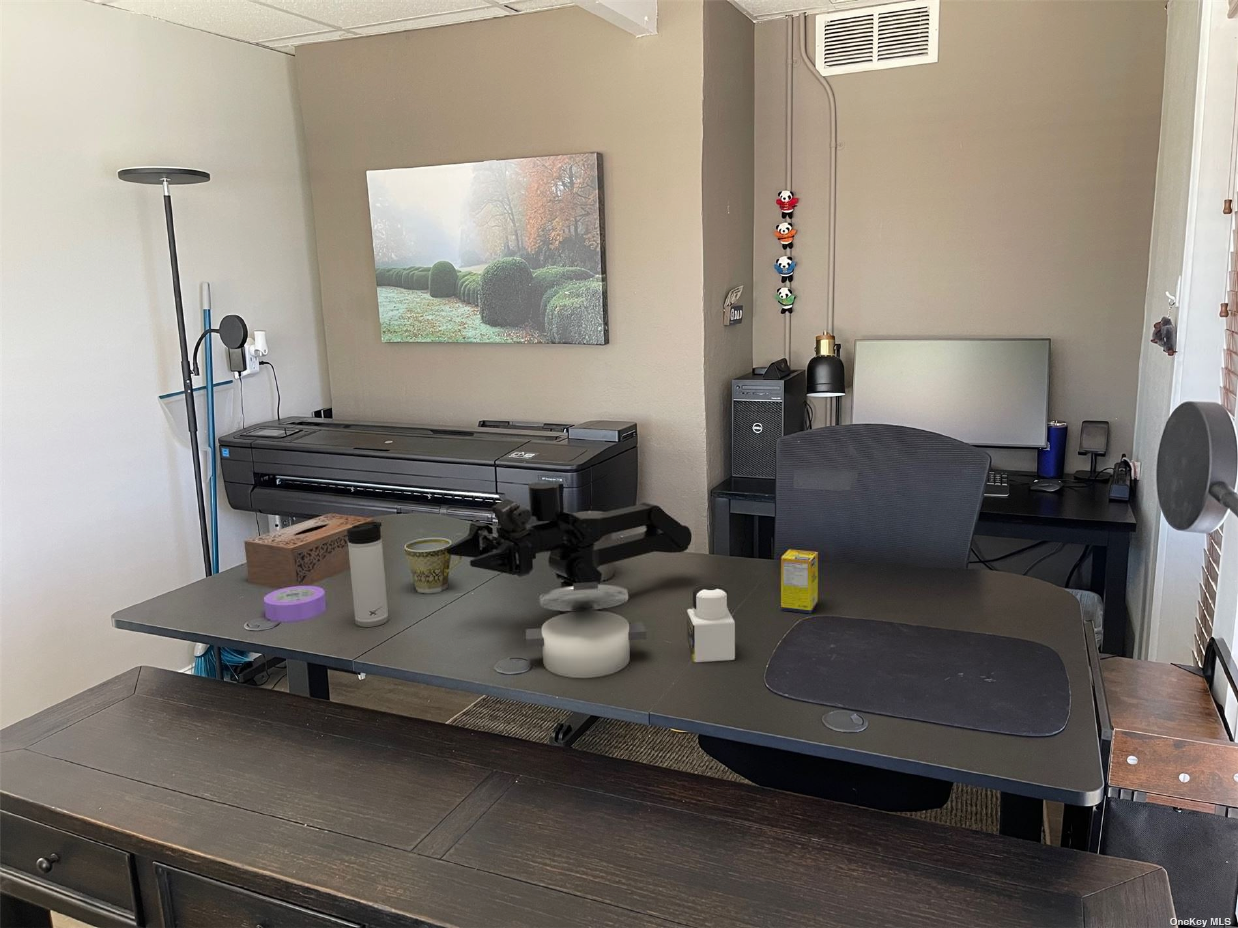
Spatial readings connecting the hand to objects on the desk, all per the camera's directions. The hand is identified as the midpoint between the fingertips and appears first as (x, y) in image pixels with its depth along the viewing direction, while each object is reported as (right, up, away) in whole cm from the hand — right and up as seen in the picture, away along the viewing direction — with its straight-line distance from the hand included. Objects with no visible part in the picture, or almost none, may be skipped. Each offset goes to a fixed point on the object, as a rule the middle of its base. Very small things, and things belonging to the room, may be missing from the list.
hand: (458, 557), depth 159 cm
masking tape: (-37, -14, +23) cm, 46 cm away
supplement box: (+64, -12, +16) cm, 67 cm away
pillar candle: (+23, -9, +39) cm, 46 cm away
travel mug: (-20, -14, +16) cm, 29 cm away
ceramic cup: (-10, -11, +33) cm, 37 cm away
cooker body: (+23, -17, -5) cm, 29 cm away
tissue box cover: (-42, -9, +49) cm, 66 cm away
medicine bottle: (+45, -17, -4) cm, 48 cm away
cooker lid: (+23, -7, -6) cm, 24 cm away
